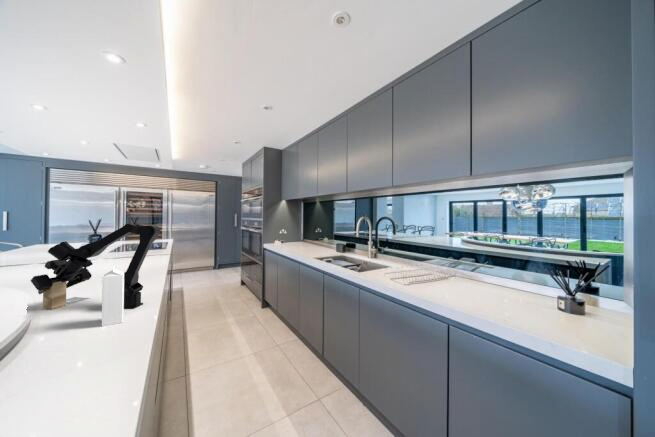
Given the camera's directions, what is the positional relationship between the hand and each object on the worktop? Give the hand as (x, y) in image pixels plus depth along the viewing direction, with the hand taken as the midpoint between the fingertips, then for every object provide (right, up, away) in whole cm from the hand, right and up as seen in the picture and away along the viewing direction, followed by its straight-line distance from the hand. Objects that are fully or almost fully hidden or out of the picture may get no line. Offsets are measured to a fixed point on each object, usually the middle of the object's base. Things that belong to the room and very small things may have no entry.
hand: (53, 290), depth 107 cm
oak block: (+1, -8, 0) cm, 8 cm away
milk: (+39, -9, -13) cm, 42 cm away
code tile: (-1, -8, +9) cm, 12 cm away
